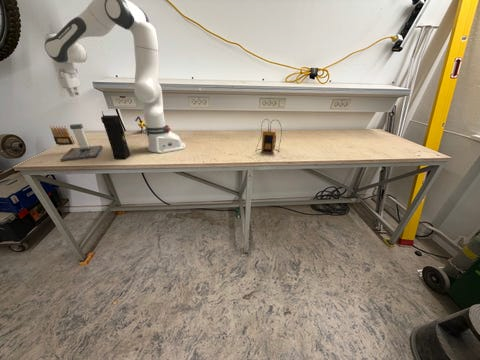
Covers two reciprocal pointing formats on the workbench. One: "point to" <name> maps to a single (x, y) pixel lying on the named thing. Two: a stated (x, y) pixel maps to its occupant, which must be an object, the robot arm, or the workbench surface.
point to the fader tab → (80, 136)
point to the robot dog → (141, 123)
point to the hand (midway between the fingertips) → (75, 95)
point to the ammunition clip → (62, 136)
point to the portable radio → (116, 136)
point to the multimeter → (268, 140)
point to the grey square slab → (81, 153)
